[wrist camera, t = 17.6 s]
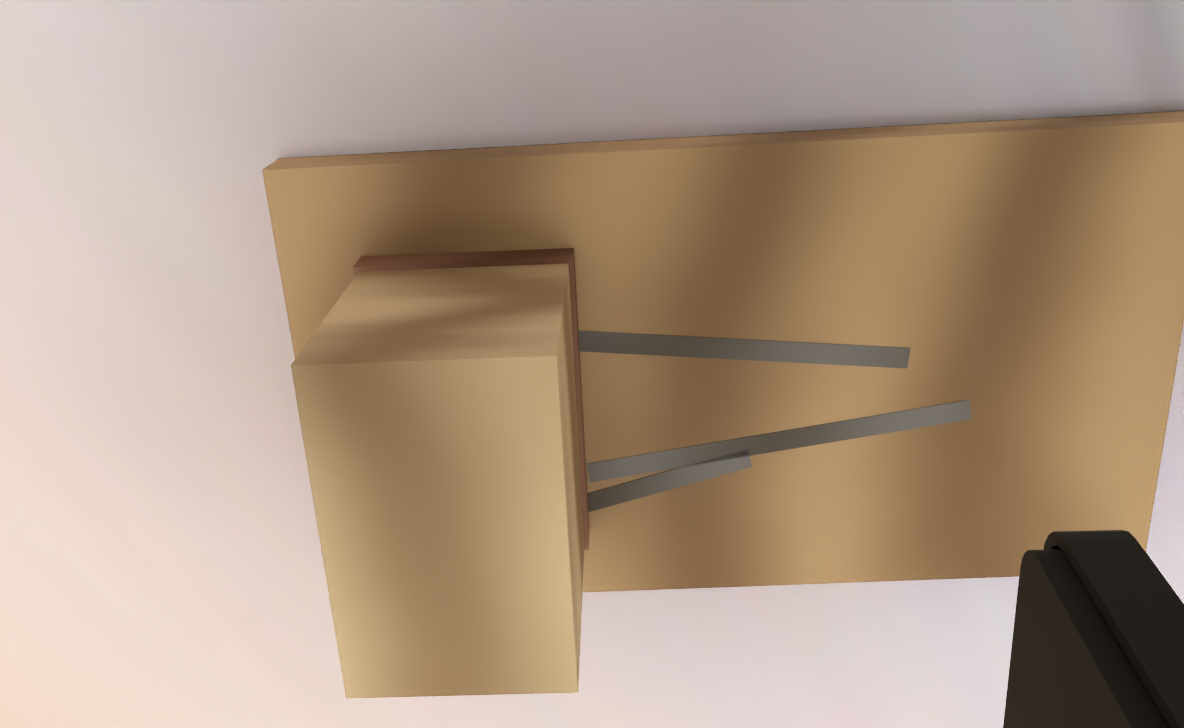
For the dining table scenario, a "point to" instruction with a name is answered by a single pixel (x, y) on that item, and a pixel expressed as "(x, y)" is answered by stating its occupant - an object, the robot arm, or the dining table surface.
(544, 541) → the block
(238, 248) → the dining table surface
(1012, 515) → the board
